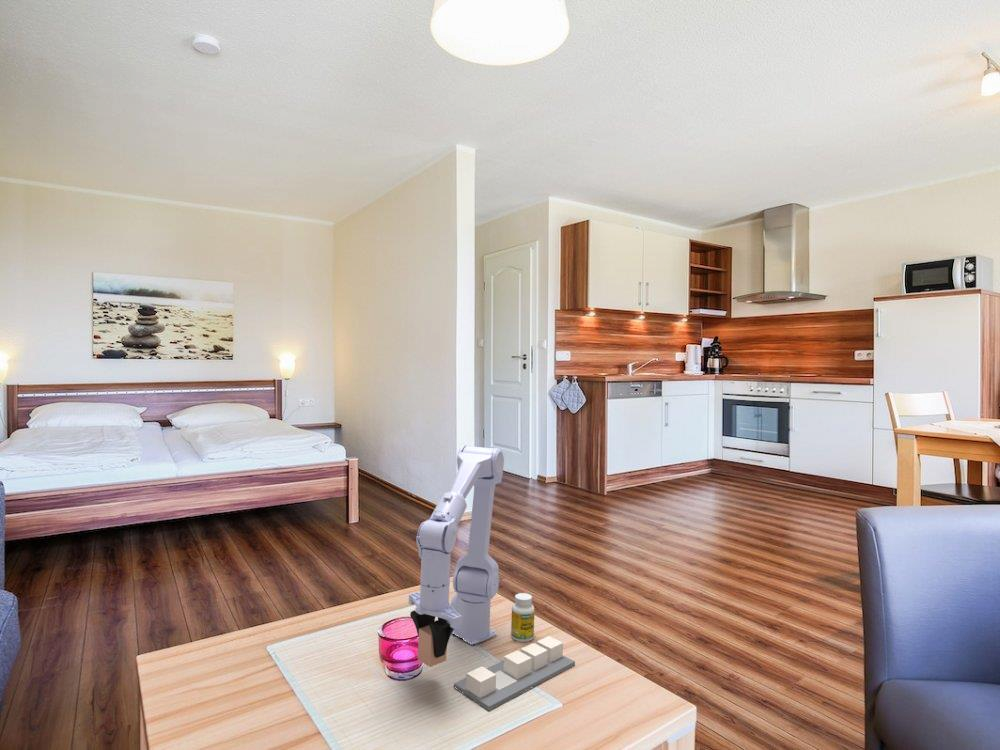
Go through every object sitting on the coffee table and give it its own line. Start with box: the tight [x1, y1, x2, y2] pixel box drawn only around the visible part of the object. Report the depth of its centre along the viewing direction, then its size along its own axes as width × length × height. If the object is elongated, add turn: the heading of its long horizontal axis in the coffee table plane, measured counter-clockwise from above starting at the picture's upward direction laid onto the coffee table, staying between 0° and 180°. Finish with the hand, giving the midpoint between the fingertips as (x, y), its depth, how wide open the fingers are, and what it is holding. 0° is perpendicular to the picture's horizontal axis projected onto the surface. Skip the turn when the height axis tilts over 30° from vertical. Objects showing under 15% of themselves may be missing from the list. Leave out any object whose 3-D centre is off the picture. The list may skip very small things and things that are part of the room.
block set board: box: [453, 635, 576, 712], centre depth 113 cm, size 10×25×4 cm, turn 134°
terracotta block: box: [417, 625, 448, 668], centre depth 109 cm, size 4×4×6 cm
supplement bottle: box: [510, 592, 536, 643], centre depth 130 cm, size 5×5×10 cm
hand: (432, 651), depth 109 cm, fingers closed on terracotta block, 4 cm apart
